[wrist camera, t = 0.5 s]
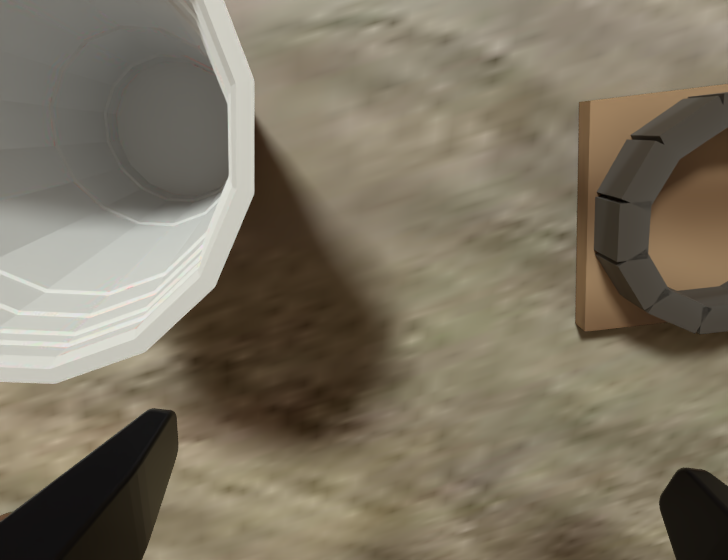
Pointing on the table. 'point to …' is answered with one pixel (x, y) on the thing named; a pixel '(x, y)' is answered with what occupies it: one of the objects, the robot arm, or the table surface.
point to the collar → (653, 211)
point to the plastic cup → (115, 174)
